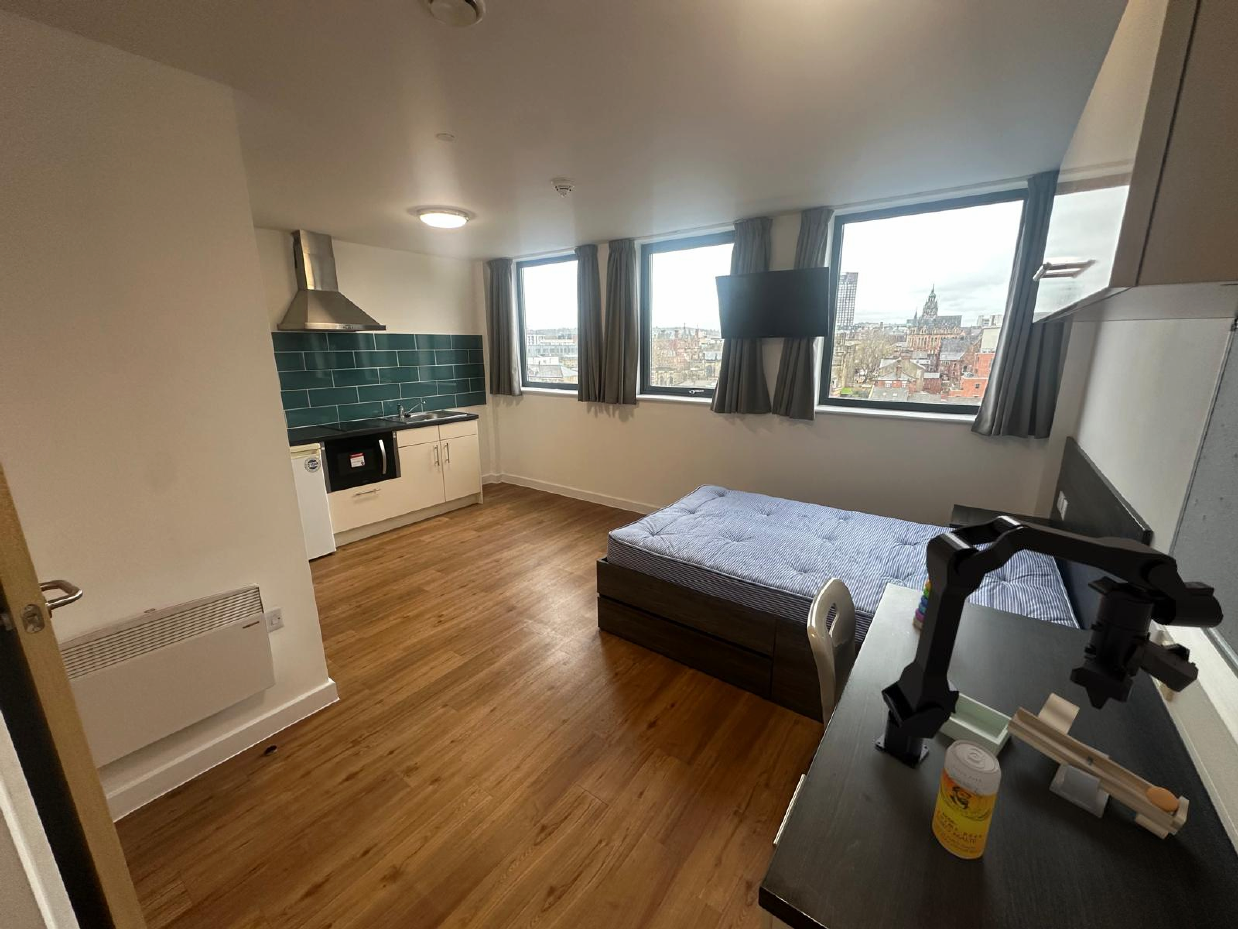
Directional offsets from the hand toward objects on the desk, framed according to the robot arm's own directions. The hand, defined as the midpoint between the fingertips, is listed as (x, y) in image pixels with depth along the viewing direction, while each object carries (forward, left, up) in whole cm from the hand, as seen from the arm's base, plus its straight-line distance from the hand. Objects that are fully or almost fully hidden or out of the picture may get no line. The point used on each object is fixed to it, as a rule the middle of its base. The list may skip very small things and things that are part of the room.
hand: (1097, 705), depth 78 cm
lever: (0, -1, -10) cm, 10 cm away
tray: (-6, +14, -12) cm, 19 cm away
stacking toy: (+25, +32, -12) cm, 42 cm away
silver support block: (-6, -1, -12) cm, 13 cm away
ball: (-6, -9, -7) cm, 13 cm away
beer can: (-31, +8, -12) cm, 34 cm away
